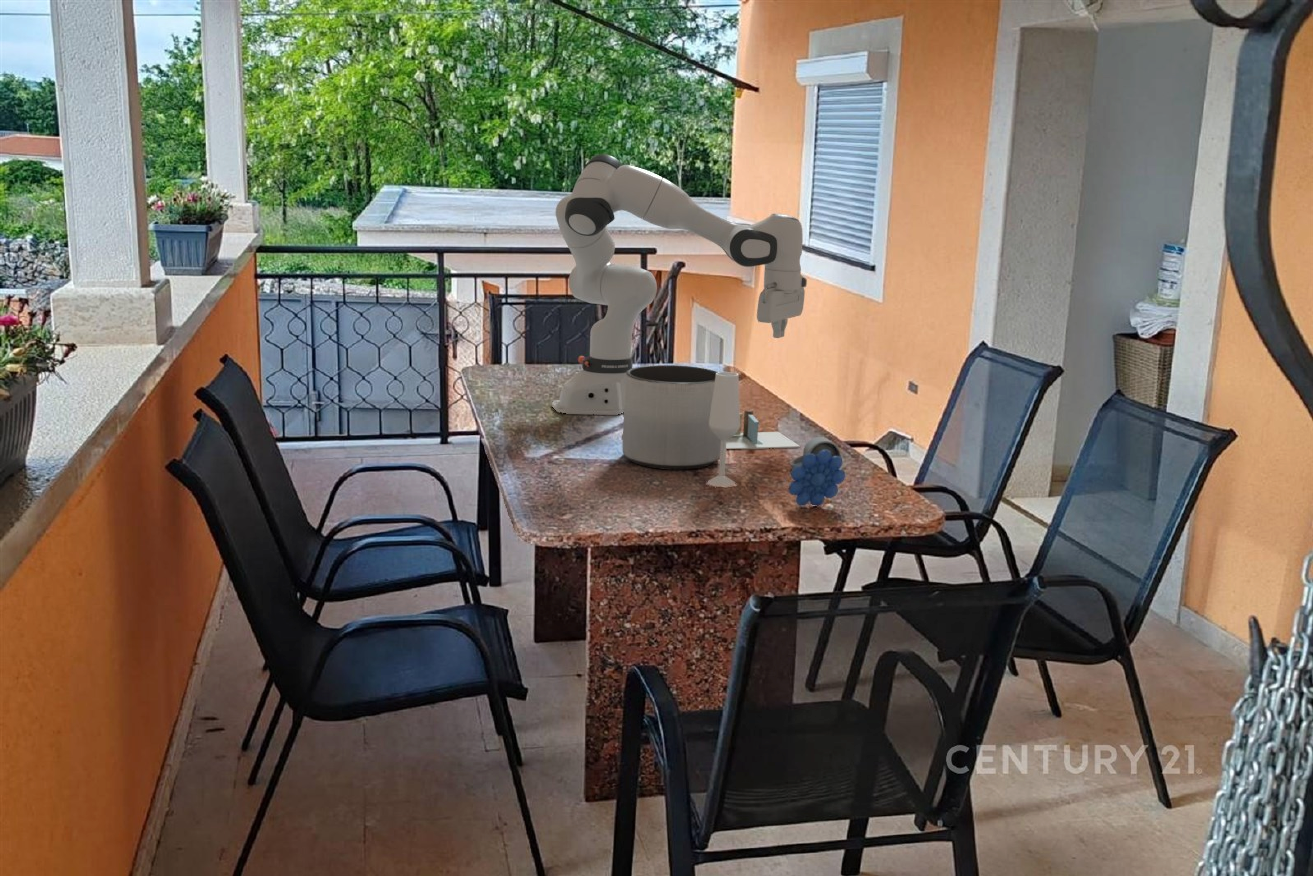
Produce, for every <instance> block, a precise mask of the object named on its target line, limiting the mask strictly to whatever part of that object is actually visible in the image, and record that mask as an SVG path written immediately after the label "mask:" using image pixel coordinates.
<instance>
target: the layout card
mask: <svg viewBox="0 0 1313 876" xmlns="http://www.w3.org/2000/svg"><path fill="white" fill-rule="evenodd" d="M769 448H770V449H771V450H772V448H774V449H800V448H801V446H800V445H799V444H797V443H796V442H794V441H793V440H791V439H790V438H788V437H786V436H785V435H784V434H782V433H780V432H779V431H764V432H763V431H762V432H759V431H758V437H757V444H754V443H753V442H752V441H751V440H750V438H749V437H746V436H743V432H741V435H733V436H732V437H731V438H730V439H728V440H726V449H741V450H770V449H769ZM774 449H773V450H774Z"/></svg>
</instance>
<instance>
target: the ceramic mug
mask: <svg viewBox="0 0 1313 876" xmlns="http://www.w3.org/2000/svg"><path fill="white" fill-rule="evenodd" d="M805 443H806V444H805V445H804V447H803V452H802V453H803V454H802V455H800V456H799V457H796V458H794V459H792V460H791V461H790V462H789V464H790V468H791V470H792V469H793V468H794V467H796V466H803V465H802V459H803V457H804V456H805V455H807V454H809V453H811V454H815V455H816V457H817V455H818V453H819V452H820V451H822V450H829V451H830V452H831V458H832V457H833V456H840V457H841V458H842V452H841V451H840V448H839V447H838V445H837V444H835V443H834V442H833V441H831V440H829V438H826V437H823V436H816V437H813V438H811V439H810V440H808V441H807V442H805Z"/></svg>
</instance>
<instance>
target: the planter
mask: <svg viewBox="0 0 1313 876" xmlns="http://www.w3.org/2000/svg"><path fill="white" fill-rule="evenodd" d="M718 372H719V371H715V370H713V369H709V368H704V367H697V366H690V365H676V364H675V365H673V364H658V365H657V364H655V365H644V366H636V367H632V369H629V370H628V371H626V380H625V404H624V413H623V424H622V425H623V426H622V446H621V447H622V453H623V455H624V456H625V458H627V459H628V460H629V461H631V462H632V463H634V464H637V465H640V466H642V467H643V466H644V467H648V468H653V467H655V468H654V469H660V468H661V469H664V470H690V469H691V470H693V469H694V468H695V469H699V468H704V467H707V466H709V465H712V464H713V463H716V461H718V460H719V459H720V448H721V440H720V439H719V438H717V436H716V435H715V434H714V433H713V432H712V431H711V429H710V427H709V418H710V411H711V404H712V397H713V390H714V383H715V377H716V373H718ZM695 469H694V470H695Z"/></svg>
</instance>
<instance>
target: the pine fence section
mask: <svg viewBox="0 0 1313 876" xmlns="http://www.w3.org/2000/svg"><path fill="white" fill-rule="evenodd" d="M743 415H744V416H743ZM748 415H753V416H754V410H751V409H747V410H746V409H744V414H743V413H742V412H740V428H739V430H738V431H737V432H736V433H735V434H734V435H741V433H743V436H746V437H748V419H749V418H748ZM742 417H743V428H742ZM741 429H743V432H741Z"/></svg>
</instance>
